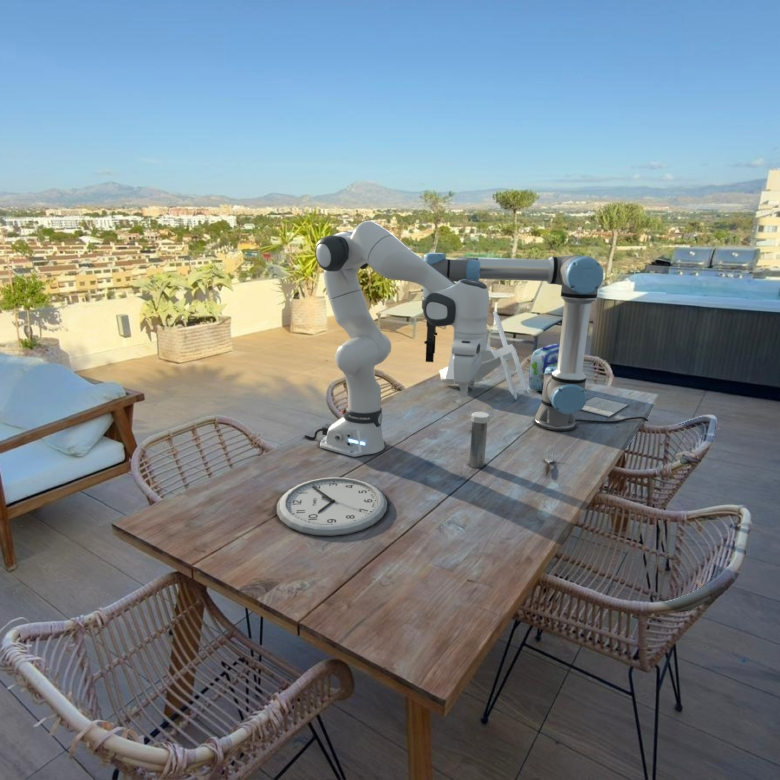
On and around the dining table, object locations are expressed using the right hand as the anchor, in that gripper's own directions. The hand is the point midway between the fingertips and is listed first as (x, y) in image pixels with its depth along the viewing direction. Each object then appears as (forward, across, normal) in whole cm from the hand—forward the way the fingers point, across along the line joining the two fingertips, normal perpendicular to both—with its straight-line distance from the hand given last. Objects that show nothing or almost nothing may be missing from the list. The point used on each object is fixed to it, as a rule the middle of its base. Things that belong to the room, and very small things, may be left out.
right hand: (430, 357), depth 190 cm
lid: (+11, +29, +17) cm, 35 cm away
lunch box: (+28, -62, +55) cm, 88 cm away
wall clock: (+28, +61, -23) cm, 71 cm away
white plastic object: (+28, -50, +22) cm, 61 cm away
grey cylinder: (+28, +29, +17) cm, 44 cm away
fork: (+28, +27, +40) cm, 56 cm away
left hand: (-2, +47, +12) cm, 48 cm away
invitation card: (+28, -38, +73) cm, 87 cm away
